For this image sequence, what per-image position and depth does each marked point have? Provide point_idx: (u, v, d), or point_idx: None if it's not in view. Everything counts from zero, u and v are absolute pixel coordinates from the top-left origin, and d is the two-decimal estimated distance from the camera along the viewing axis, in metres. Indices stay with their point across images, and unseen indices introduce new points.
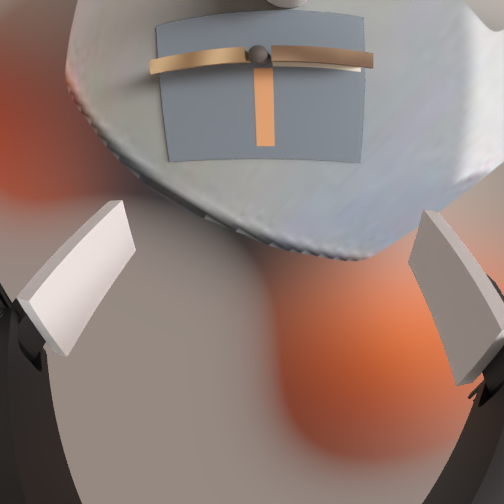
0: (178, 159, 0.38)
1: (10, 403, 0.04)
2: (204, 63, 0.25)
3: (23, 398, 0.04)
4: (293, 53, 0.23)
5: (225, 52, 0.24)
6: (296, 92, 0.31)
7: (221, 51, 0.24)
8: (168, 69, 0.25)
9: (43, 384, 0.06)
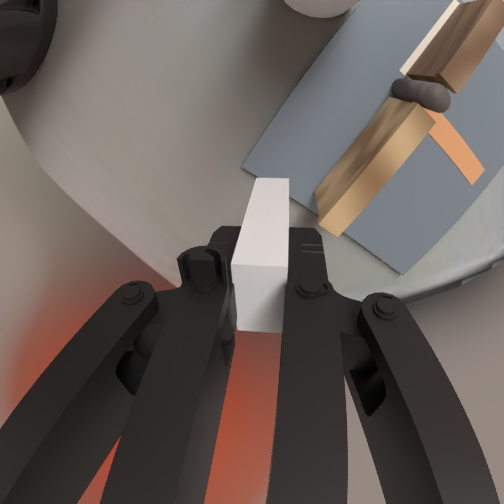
0: (410, 266, 0.28)
1: (192, 420, 0.04)
2: (396, 167, 0.16)
3: (206, 409, 0.05)
4: (464, 63, 0.10)
5: (406, 130, 0.14)
6: (460, 97, 0.16)
7: (401, 133, 0.14)
8: (357, 213, 0.18)
9: (223, 383, 0.07)
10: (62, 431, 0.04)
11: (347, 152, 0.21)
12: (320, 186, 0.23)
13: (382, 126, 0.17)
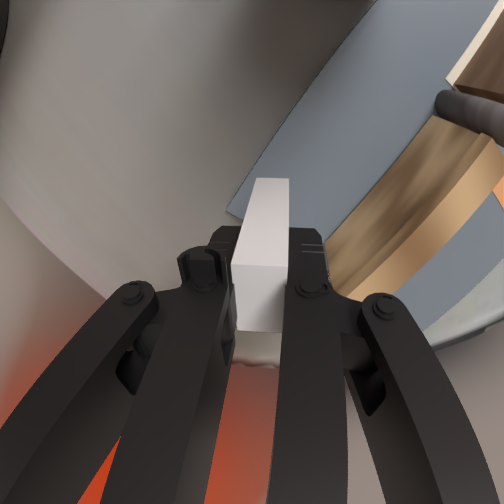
0: (433, 320, 0.21)
1: (192, 420, 0.04)
2: (450, 233, 0.10)
3: (206, 409, 0.05)
4: None
5: (473, 179, 0.08)
6: None
7: (465, 184, 0.08)
8: None
9: (223, 383, 0.07)
10: (62, 431, 0.04)
11: (373, 193, 0.15)
12: (334, 239, 0.17)
13: (428, 162, 0.11)
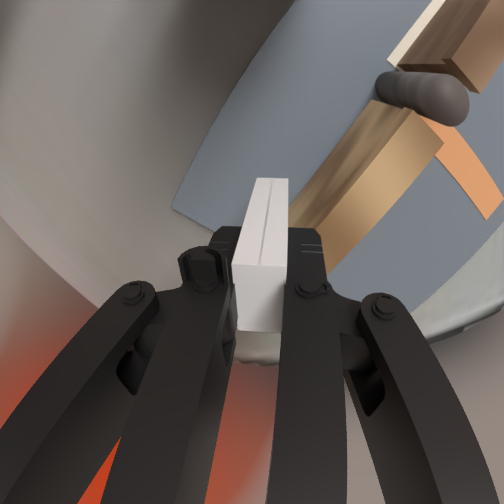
0: None
1: (193, 420, 0.04)
2: (371, 221, 0.10)
3: (206, 409, 0.05)
4: (489, 42, 0.05)
5: (392, 159, 0.09)
6: (476, 99, 0.11)
7: (381, 165, 0.09)
8: None
9: (224, 383, 0.07)
10: (62, 431, 0.04)
11: (308, 184, 0.15)
12: None
13: (356, 148, 0.11)
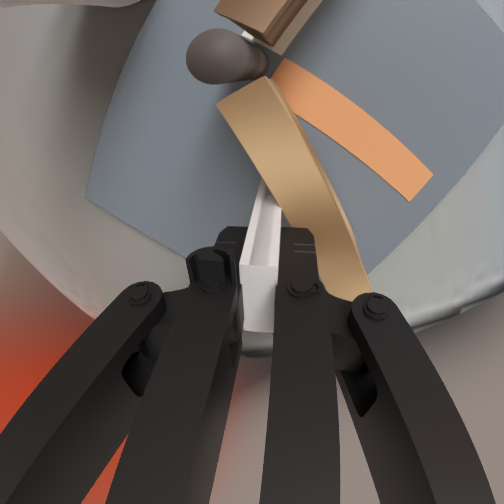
0: None
1: None
2: (321, 190, 0.09)
3: (213, 411, 0.05)
4: None
5: (260, 144, 0.09)
6: (369, 54, 0.11)
7: (263, 157, 0.09)
8: (361, 275, 0.11)
9: (231, 384, 0.07)
10: (67, 433, 0.04)
11: None
12: None
13: None
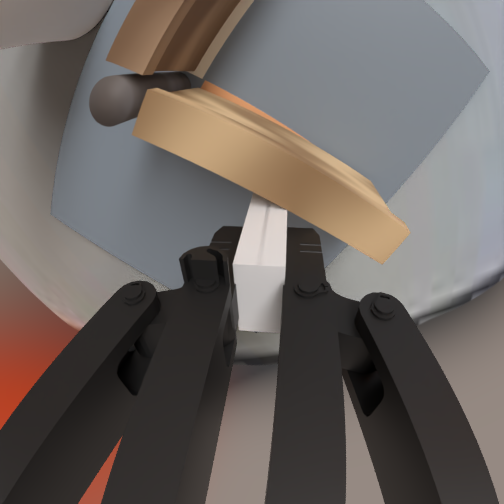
0: None
1: (194, 420, 0.04)
2: (258, 145, 0.09)
3: (207, 410, 0.05)
4: (151, 11, 0.06)
5: (183, 141, 0.09)
6: (288, 67, 0.12)
7: (191, 150, 0.09)
8: (365, 205, 0.09)
9: (225, 383, 0.07)
10: (63, 431, 0.04)
11: None
12: None
13: None
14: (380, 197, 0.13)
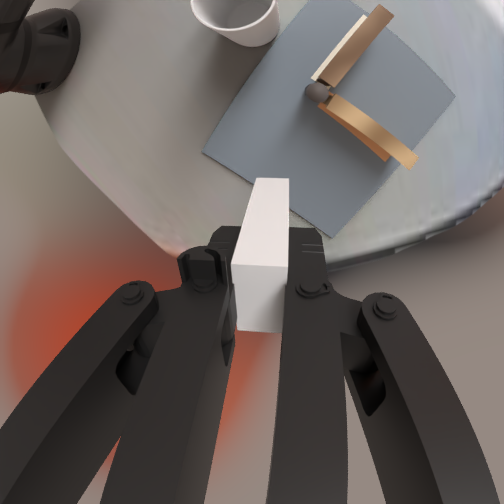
0: (337, 230, 0.37)
1: (192, 420, 0.04)
2: (371, 120, 0.23)
3: (206, 409, 0.05)
4: (340, 65, 0.21)
5: (346, 115, 0.23)
6: (366, 92, 0.27)
7: (348, 118, 0.23)
8: (403, 145, 0.24)
9: (223, 383, 0.07)
10: (62, 431, 0.04)
11: None
12: None
13: None
14: None
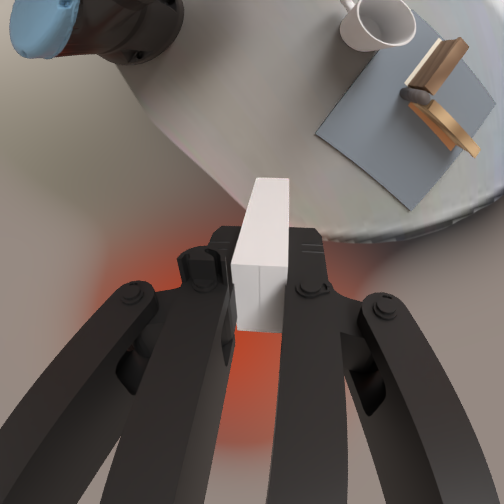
0: (415, 204, 0.41)
1: (192, 420, 0.04)
2: (454, 121, 0.27)
3: (206, 409, 0.05)
4: (437, 79, 0.24)
5: (440, 116, 0.27)
6: (440, 97, 0.30)
7: (441, 118, 0.27)
8: (472, 140, 0.27)
9: (223, 383, 0.07)
10: (62, 431, 0.04)
11: (440, 128, 0.32)
12: (455, 143, 0.33)
13: (432, 116, 0.30)
14: None
